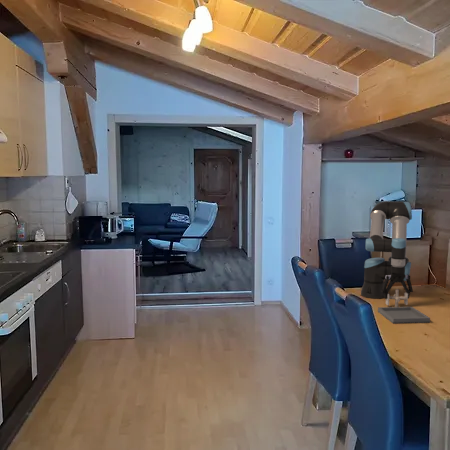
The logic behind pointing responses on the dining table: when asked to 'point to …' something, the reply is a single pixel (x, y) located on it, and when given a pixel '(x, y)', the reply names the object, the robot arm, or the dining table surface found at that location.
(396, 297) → the pipe connector
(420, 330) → the dining table surface
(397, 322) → the tray
